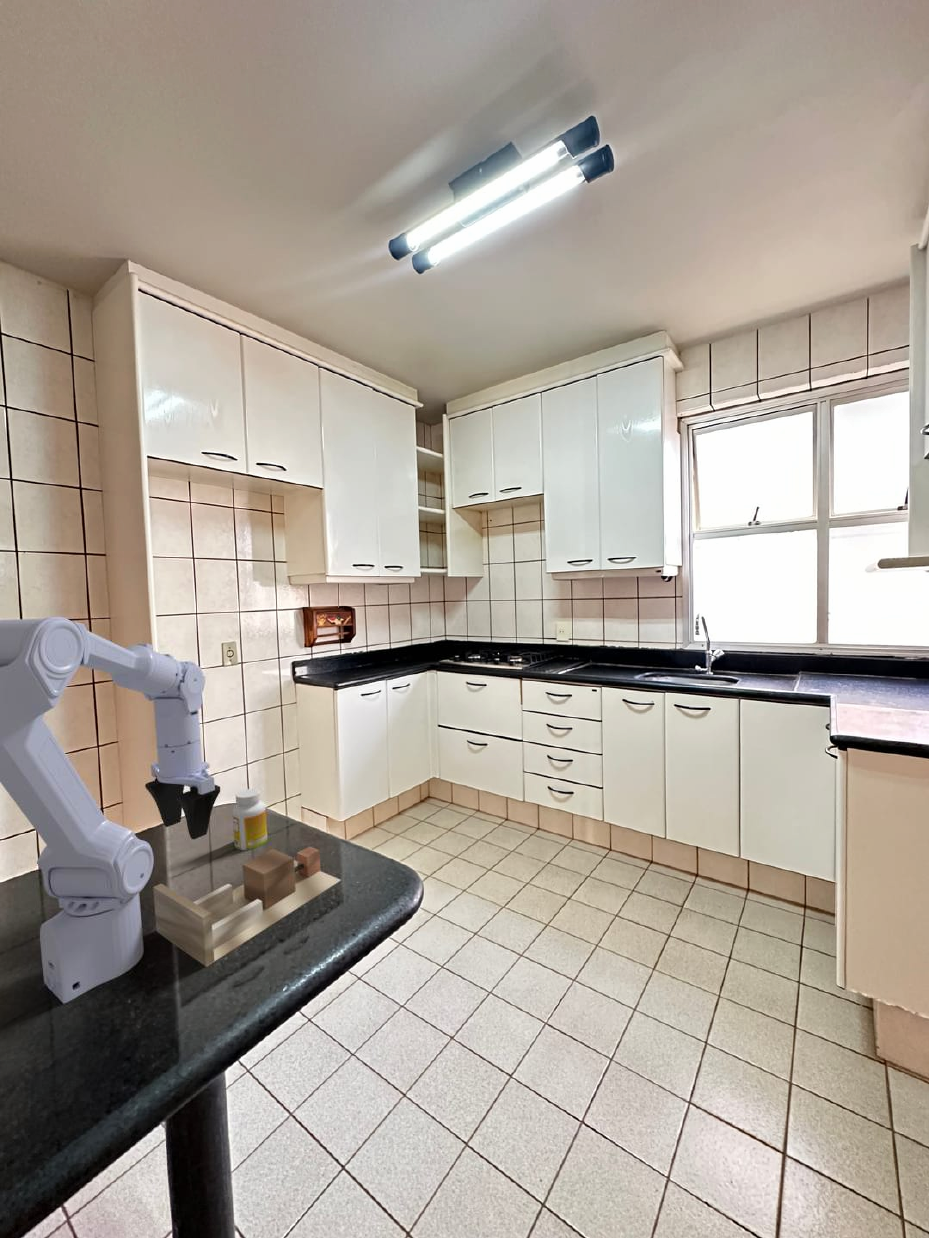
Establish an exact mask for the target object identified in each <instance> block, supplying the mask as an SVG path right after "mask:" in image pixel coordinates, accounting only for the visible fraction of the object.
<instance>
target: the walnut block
mask: <svg viewBox="0 0 929 1238" xmlns="http://www.w3.org/2000/svg"><path fill="white" fill-rule="evenodd" d="M320 853H321V852H320V849H318V848H314V847H312V846H307V847H306V848H304V849H302V850H300V851H298V852H297V853H296V861H297V863H298V866H297V867H295V868H294V860H295V857H292V856H290V855H288V854H285V853H283V852H281V851H278V850H276V849H274V848H272V849H269V850H267V851H265V852H263V853H262V854H260V855H258V856H255V857H254V858H252V859H250V860H249V861H246V862H244V863H242V864H241V865H242V875H243V877H242V878H243V880H242V881H243V884H244V896H245V898H246V899H248V900H250V901H252V902H253V901H255V900H257V899H259V900H261V901H262V907H263V908H265V909H267V908H268V907H270V906H272V905H273V904H275V903H277V902H278V901H280V900H281V899H283V898H285V897H286V896H288V895H290V894H291V893H293V892H295V891H296V887H295V873H296V872H297V871H298V873H299V874H302V875H304V876H306V877H310V876H311V875H313V874H315V873H316V872H318V871H321V855H320Z"/></svg>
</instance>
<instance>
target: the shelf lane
mask: <svg viewBox="0 0 929 1238" xmlns="http://www.w3.org/2000/svg"><path fill="white" fill-rule="evenodd" d="M297 866H298V863H297V860H295V859H294V868H295V867H297ZM340 881H342V879H339V878H338V877H336V876H333V875H330V874H328V873H325V872H324V871H321V870H320V871H318V872H316V873H315V874H313V875H311V876H310V877H306V876H304V875H302V874H299V873H298V871H297V872H296V873H295V887H296V891H295V892H293V893H291V894H290V895H288V896H286V897H285V898H283V899H281V900H280V901H278V902H277V903H275V904H273V905H272V906H270V907H268V908H267V909H265V908H263V907H262V901H261V900H259V899H257V900H255V901H253V902H252V901H250V900H248V899H246V898H245V896H244V883H243V884H241V885H240V886H237V887H235V888H234V889H233V885H232V884H230V883H227V884H225V885H223V886H221V887H219V888H217V889H215V890H213V891H212V892H209V893H208V894H206V895H204V896H201V897H200V898H198V899H196V900H195V901H191V900H190V899H188V898H186V897H185V896H184V895H181V894H180V893H178V892H176V891H175V890H173V889H171V888H170V887H168V886H166V885H164V884H163V883H159V884H157V885H155V886H153V890H152V891H153V901H154V911H155V914H154V915H155V924H156V926H155V927H156V933H158V934H160V935H161V936H162V937H164V938H165V939H167V940H168V941H169V942H171V943H172V944H174V945H175V946H177V947H178V948H179V949H181V950H182V951H183V952H185V953H186V954H188V955H189V956H191V958H193V959H195V960H196V961H198V962H199V963H200V964H202V965H203V966H204V967H209V966H210V965H212V964H213V963H215V962H216V961H218V960H219V959H221V958H223V957H224V956H226V955H227V954H228V953H230V952H232V951H233V950H235V949H236V948H238V947H240V946H241V945H243V944H244V943H247V942H248V941H249V940H251V939H252V938H253V937H255V936H257V935H258V934H260V933H262V932H263V931H264V930H266V929H267V928H269V927H271V926H273V925H274V924H275V923H277V922H279V921H280V920H282V919H284V918H285V917H286V916H287V915H289V914H291V913H292V912H294V911H296V910H297V909H299V908H300V907H302V906H303V905H305V904H307V903H308V902H309V901H311V900H313V899H315V897H317V896H319V895H320V894H323V892H325V891H327V890H328V889H330V888H331V887H333V886H334V885H336V884H337V883H339V882H340Z"/></svg>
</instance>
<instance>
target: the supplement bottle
mask: <svg viewBox="0 0 929 1238" xmlns="http://www.w3.org/2000/svg"><path fill="white" fill-rule="evenodd" d="M235 803H236V805H235V806H234V807H233V809H232V827H233V843H234V844H233V845H234V848H235V849H236V850H239V851H240V850H241V851H247V850H248V851H249V850H253V849H256V848H259V847H261V846H263V845H264V844H266V843H267V842H268V830H267V829H268V827H267V814H266V813H267V812H266V804H265V803H264V801H262V800H261V790H259V789H257V788H250V789H249V788H248V789H243V790H240V791H238V792H237V793H236V794H235Z"/></svg>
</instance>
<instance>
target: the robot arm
mask: <svg viewBox="0 0 929 1238" xmlns="http://www.w3.org/2000/svg"><path fill="white" fill-rule="evenodd" d="M153 648H154V646H153V645H152V644H150V643H148V642H147V643H136V644H134V645H133V644H132V645H129V646H126V647H122V646H121V645H118V644H116V643H114V642H112V641H110V640H108V639H106V638H104V637H102V636H100V635H98V634H96V633H93V632H92V631H89V630H88V629H87V627H86V624H84V623H81V622H76V621H72V620H70V619H68V618H66V617H62V616H50V617H45V618H23V619H20V618H19V619H16V618H15V619H0V784H1V785H2V786H3V788H4V789H5V791H6V792H7V793H8V795H9V796H10V797H11V799H12V800H13V801H14V803H15V805H17V807H18V808H19V810H20V811H21V812H22V813H23V815H24V816H25V817H26V819H27V820H28V822H29V823H30V824H31V826H32V827H33V828H34V830H35V831H36V832H37V834H38V835H39V836H40V839H42V840H43V842H44V844H45V847H44V848H43V849H42V851H41V853H40V854H39V857H38V858H37V860H36V865H37V866H38V867H39V868H40V871H41V872H42V873H41V874H42V877H43V878H42V879H43V887H44V889H45V892H46V893H47V894H48V895H49V896H50V897H51V898H55V899H58V907H59V908H60V909H62V910H61V911H59V913H58V914H56V915H55V916H53V917H52V918H50V919H48V920H46V921H45V922H43V923H42V924H41V925H40V929H39V941H40V952H41V953H40V954H41V963H42V964H41V965H42V974H43V982H44V984H45V985H46V986H47V988H48V989H49V990H50V991H51V992H53V994H54V995H55V996H56V997H57V998H58V999H59V1000H60V1002H62V1004H64V1005H65V1004H66V1003H69V1002H70V1001H72V1000H74V999H76V998H77V997H79V996H81V995H83V994H85V993H87V992H88V991H90V990H92V989H94V988H96V987H97V986H99V985H102V984H105V983H107V982H109V981H111V980H114V979H116V978H117V977H120V976H121V975H123V974H125V973H126V972H128V971H130V970H131V969H132V968H133V967H134V966H136V965H137V964H138V963H139V962H140V960H141V958H142V957H143V955H144V951H145V950H144V949H145V948H144V940H143V928H142V926H143V925H142V915H141V913H142V912H141V902H140V901H141V900H140V893H141V891H142V890H143V889H144V887H145V886H147V885H146V884H147V883H148V882H149V880H150V878H151V875H152V872H153V870H154V869H153V867H154V861H155V859H154V852H153V849H152V847H151V845H150V843H149V842H147V841H146V840H143V839H142V840H141V839H139V838H138V837H137V836H136V834H135V833H134V831H133V830H131V829H130V828H127V827H126V826H122V825H121V824H117V823H116V822H113V821H111V820H108V819H107V818H106V817H105V815H104V813H103V812H102V810H101V808H100V807H99V805H98V804H97V802H96V800H95V798H94V797H93V796H92V794H91V793H90V791H89V789H88V788H87V786H86V785H85V783H84V781H83V779H82V778H81V777H80V775H79V774H78V772H77V771H76V769H75V767H74V765H73V764H72V762H71V760H69V758H68V755H67V754H66V753H65V751H64V750H63V748H62V747H61V745H60V743H59V742H58V740H57V738H56V737H55V734H53V732H52V730H51V729H50V727H49V726H48V724H47V723H46V721H45V719H44V716H45V713H47V712H48V711H49V712H50V710H52V709H53V708H55V707H56V706H57V704H58V703H59V700H60V699H61V697H62V696H63V694H64V692H65V691H66V689H67V687H68V685H70V682H71V681H72V679H73V677H74V675H75V673H76V672H77V671H78V669H79V667H84V668H88V669H92V670H96V671H99V672H104V673H108V674H110V677H111V680H112V681H113V682H114V684H116V685H117V686H118V687H121V688H124V689H129V690H131V691H136V692H139V693H142V694H143V695H144V697H145V698H146V700H148V701H149V702H151V701H153V702H152V703H153V711H154V712H153V713H154V714H153V715H154V724H155V725H154V726H155V727H154V728H155V737H156V750H157V752H156V753H157V762H154V763H151V764H150V770H151V771H150V772H151V777H153V778H154V780H152V781H149V782H146V783H145V785H144V786H145V789H146V791H148V793H149V794H150V795H151V797H152V799H153V800H154V802H155V805H156V806H157V807H156V808H158V812H159V814H160V817H161V820H162V823H163V825H164V826H165V828H168V827H172V826H174V825H176V824H179V823H181V820H182V815H184V816H185V820H186V827H187V831H188V835H189V837H190V839H191V840H196V839H198V838H201V837H204V836H206V835H207V834H208V831H209V825H210V821H211V815H212V811H213V807H214V805H215V803H216V801H217V799H218V796H219V794H220V792H221V786H219V785H218V784H215V777H214V776H212V775H210V773H209V772H208V771H207V770H208V769H210V762H207V761H203V759H202V758H203V757H202V744H201V729H200V728H201V726H200V717H199V716H200V715H199V713H200V712H199V710H200V709H201V708H202V705H203V699H202V698H203V693H204V689H205V685H206V676H204V672H203V670H202V668H201V667H200V665H197V664H196V663H195V662H193V661H189V660H188V661H179V660H177V659H175V658H174V655H172V654H168V653H166V654H165V653H164V654H163V653H160V652H158V651H155V650H153ZM185 786H186V787H189V790H187V791H184V790H185ZM182 811H183V812H182ZM182 813H184V814H182ZM75 984H77V985H76V986H74V985H75ZM73 986H74V987H73Z"/></svg>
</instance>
